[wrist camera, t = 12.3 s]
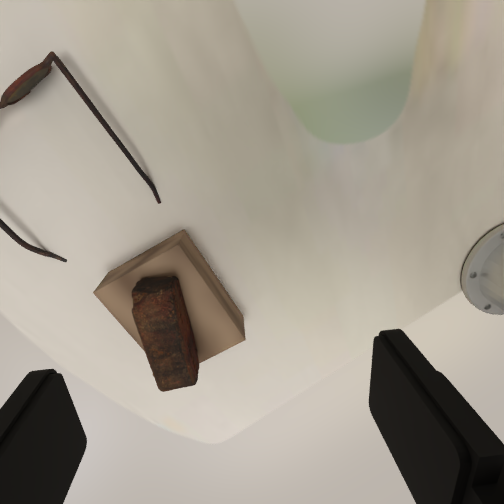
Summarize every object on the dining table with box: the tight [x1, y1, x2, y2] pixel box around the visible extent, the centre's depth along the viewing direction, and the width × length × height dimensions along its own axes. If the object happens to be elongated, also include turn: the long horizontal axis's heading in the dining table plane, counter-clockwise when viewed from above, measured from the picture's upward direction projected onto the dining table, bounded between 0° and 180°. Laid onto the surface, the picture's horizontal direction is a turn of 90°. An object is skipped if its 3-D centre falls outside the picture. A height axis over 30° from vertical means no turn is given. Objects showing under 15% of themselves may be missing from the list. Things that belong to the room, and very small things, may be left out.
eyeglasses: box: [0, 52, 161, 262], centre depth 30 cm, size 15×15×5 cm
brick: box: [132, 276, 199, 392], centre depth 32 cm, size 11×4×5 cm, turn 9°
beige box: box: [93, 230, 245, 363], centre depth 36 cm, size 10×13×5 cm
